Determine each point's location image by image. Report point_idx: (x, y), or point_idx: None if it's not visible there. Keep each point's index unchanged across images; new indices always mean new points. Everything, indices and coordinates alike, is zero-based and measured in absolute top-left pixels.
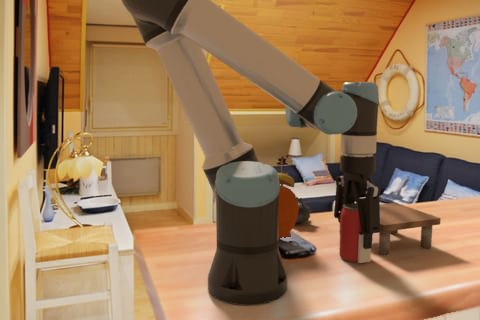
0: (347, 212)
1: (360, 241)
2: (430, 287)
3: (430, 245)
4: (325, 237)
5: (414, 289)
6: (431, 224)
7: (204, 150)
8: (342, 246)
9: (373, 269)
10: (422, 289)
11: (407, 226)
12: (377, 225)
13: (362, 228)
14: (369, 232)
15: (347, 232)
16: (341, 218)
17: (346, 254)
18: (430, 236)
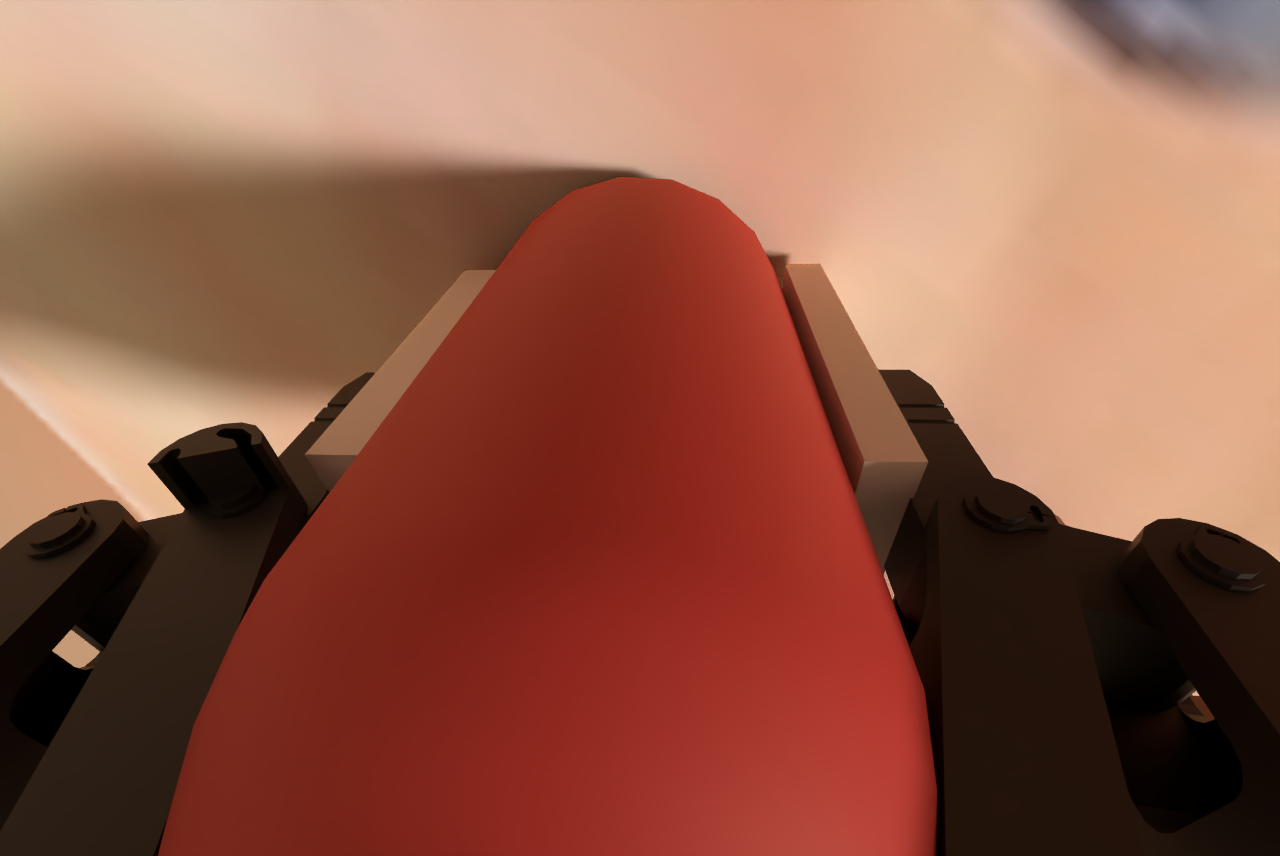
0: (311, 766)
1: (368, 384)
2: (102, 449)
3: None
4: (1258, 363)
5: (33, 358)
6: None
7: None
8: (611, 213)
9: (375, 315)
10: (52, 398)
11: None
12: (51, 700)
13: (226, 534)
14: (43, 519)
15: (470, 335)
16: (638, 479)
17: (557, 208)
18: None
